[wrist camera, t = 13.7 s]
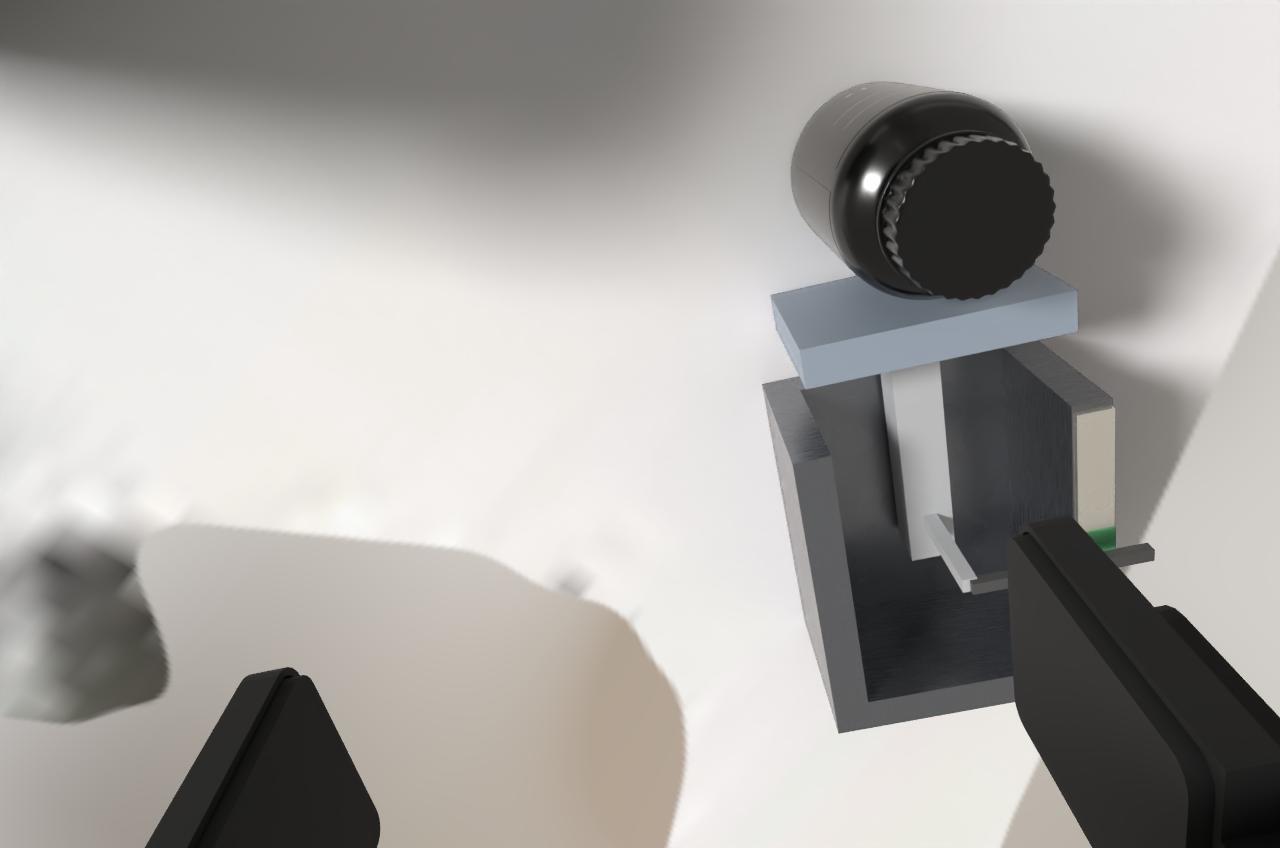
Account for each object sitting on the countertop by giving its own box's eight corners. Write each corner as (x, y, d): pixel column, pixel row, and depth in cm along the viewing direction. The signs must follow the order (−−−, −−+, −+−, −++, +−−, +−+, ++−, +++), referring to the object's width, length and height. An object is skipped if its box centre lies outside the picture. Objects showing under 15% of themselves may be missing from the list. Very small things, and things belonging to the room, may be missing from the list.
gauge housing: (762, 384, 40) (793, 468, 33) (1022, 328, 39) (1117, 402, 32) (805, 621, 46) (840, 739, 39) (1032, 577, 45) (1115, 690, 38)
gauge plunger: (770, 295, 38) (808, 367, 30) (1047, 233, 37) (1162, 291, 29) (811, 536, 43) (852, 652, 35) (1054, 488, 42) (1153, 596, 34)
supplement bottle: (965, 215, 37) (1106, 295, 26) (811, 268, 38) (886, 368, 27) (932, 51, 34) (1075, 65, 24) (767, 113, 35) (831, 155, 24)
